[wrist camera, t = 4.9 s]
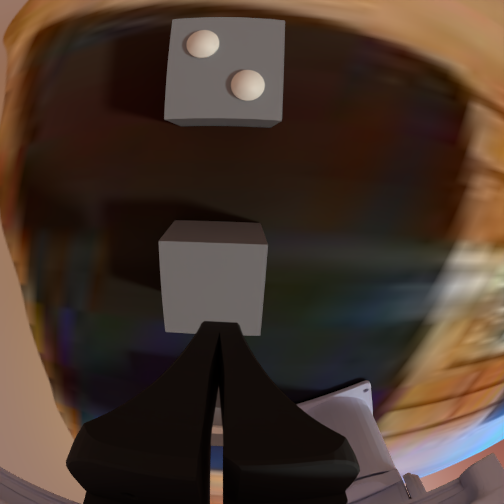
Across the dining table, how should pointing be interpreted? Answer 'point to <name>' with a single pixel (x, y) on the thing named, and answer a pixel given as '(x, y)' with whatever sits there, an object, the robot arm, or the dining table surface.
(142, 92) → the dining table surface
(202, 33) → the dotted block
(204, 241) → the plain block
